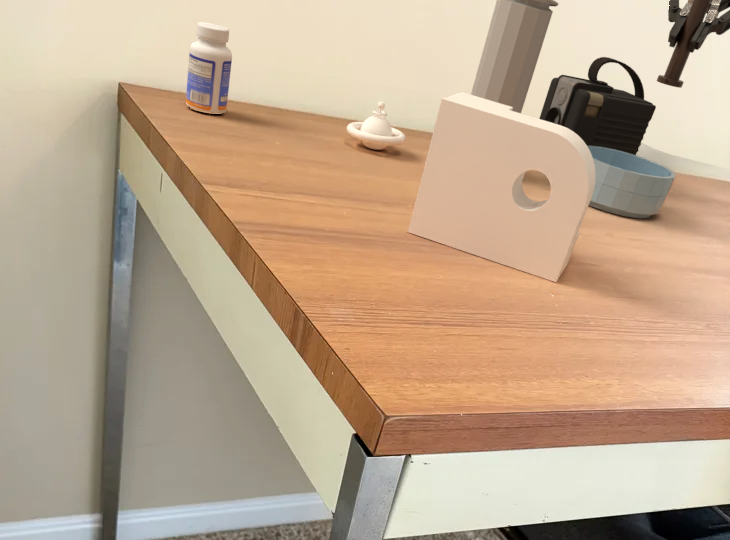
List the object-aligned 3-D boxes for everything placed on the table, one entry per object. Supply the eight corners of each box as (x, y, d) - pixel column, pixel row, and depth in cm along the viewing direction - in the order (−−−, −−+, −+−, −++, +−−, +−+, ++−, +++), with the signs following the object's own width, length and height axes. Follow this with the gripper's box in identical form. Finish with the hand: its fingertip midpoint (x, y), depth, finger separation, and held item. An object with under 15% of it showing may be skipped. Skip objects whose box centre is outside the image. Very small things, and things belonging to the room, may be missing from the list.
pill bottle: (214, 105, 112) (223, 23, 107) (233, 117, 109) (242, 33, 103) (178, 102, 110) (184, 18, 104) (195, 114, 106) (203, 28, 100)
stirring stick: (668, 82, 132) (703, -6, 125) (686, 88, 130) (723, -1, 122) (651, 79, 130) (685, -10, 123) (669, 86, 128) (705, -5, 120)
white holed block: (407, 232, 85) (441, 98, 77) (436, 211, 93) (470, 89, 85) (555, 282, 82) (606, 148, 74) (572, 256, 90) (620, 133, 82)
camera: (518, 152, 128) (553, 42, 119) (591, 162, 133) (629, 58, 124) (553, 174, 121) (593, 59, 112) (629, 184, 126) (673, 75, 117)
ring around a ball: (408, 160, 109) (395, 144, 115) (417, 113, 106) (404, 99, 112) (349, 152, 108) (340, 136, 114) (357, 104, 104) (347, 90, 110)
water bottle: (505, 179, 112) (574, -41, 97) (449, 165, 112) (510, -57, 97) (504, 164, 119) (569, -43, 104) (451, 151, 119) (508, -58, 104)
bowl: (613, 189, 121) (629, 149, 118) (677, 222, 112) (696, 180, 109) (545, 183, 115) (559, 142, 112) (607, 218, 106) (625, 174, 103)
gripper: (695, -78, 125) (641, 13, 124) (787, -58, 121) (732, 37, 119) (686, -34, 132) (635, 52, 131) (773, -14, 128) (721, 77, 126)
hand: (682, 44), depth 125 cm, fingers closed on stirring stick, 2 cm apart
